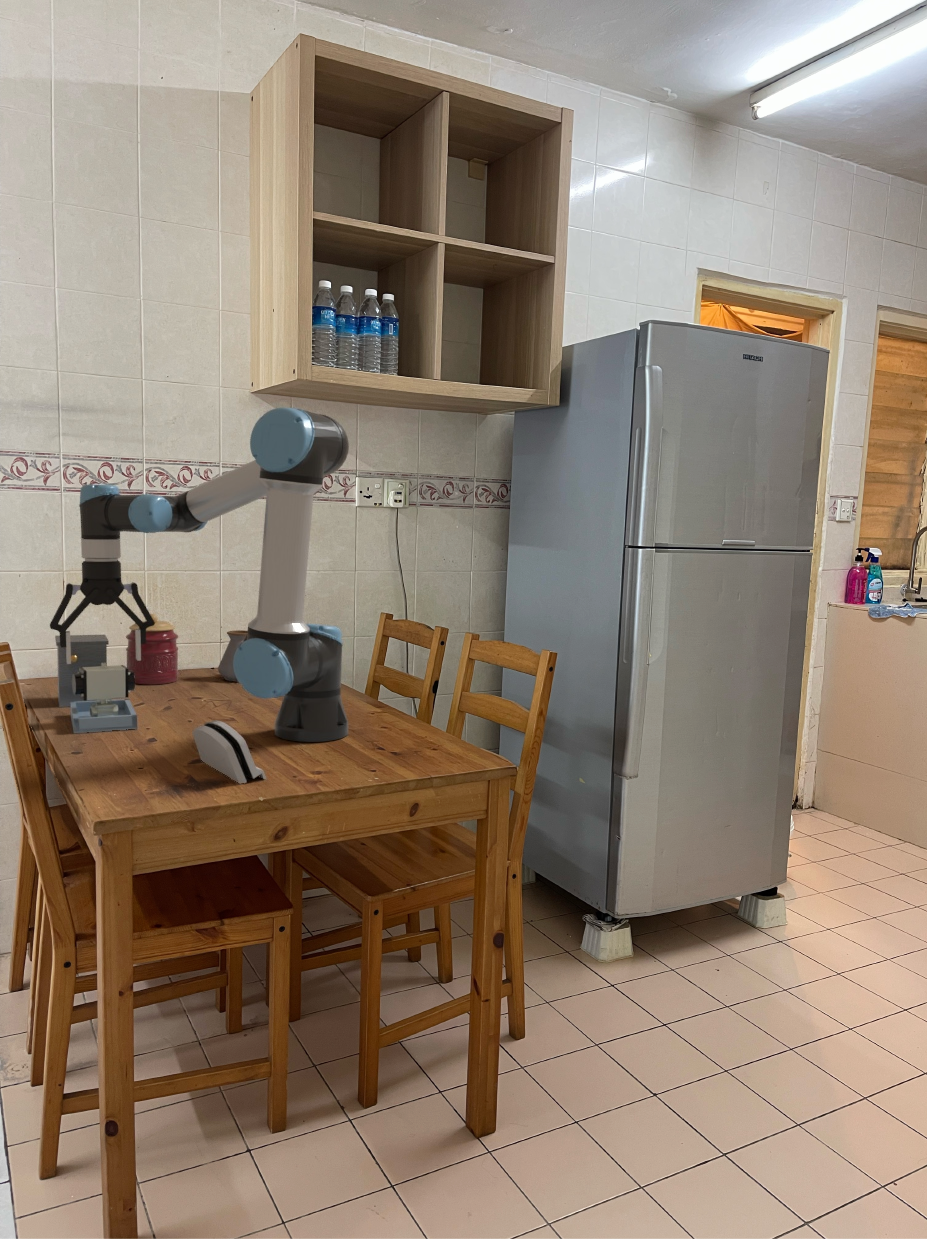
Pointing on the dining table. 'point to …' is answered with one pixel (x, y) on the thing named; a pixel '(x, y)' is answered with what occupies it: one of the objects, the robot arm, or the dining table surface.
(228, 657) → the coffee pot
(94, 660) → the box
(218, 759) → the grey curved fin
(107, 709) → the pneumatic valve
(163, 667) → the canister
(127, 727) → the tray
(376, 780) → the dining table surface
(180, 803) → the dining table surface
